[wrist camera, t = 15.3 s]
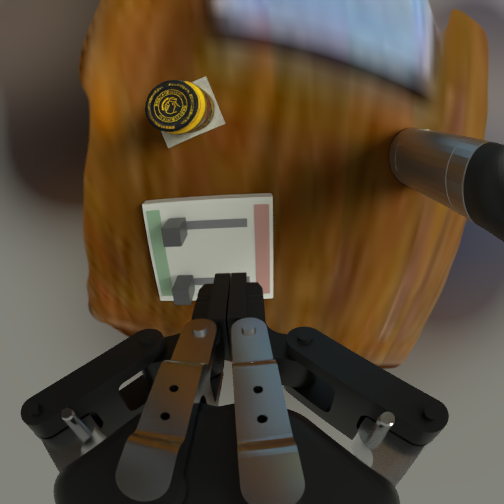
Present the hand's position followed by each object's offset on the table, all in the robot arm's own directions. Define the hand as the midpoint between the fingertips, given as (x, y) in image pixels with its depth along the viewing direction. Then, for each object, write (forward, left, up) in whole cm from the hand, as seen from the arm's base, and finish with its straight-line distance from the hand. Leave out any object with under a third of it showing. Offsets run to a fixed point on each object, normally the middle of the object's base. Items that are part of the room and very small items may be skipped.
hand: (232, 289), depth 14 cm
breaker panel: (+5, +10, -27) cm, 29 cm away
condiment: (+7, -10, -27) cm, 30 cm away
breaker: (+9, +5, -25) cm, 27 cm away
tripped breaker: (+9, +15, -25) cm, 30 cm away
